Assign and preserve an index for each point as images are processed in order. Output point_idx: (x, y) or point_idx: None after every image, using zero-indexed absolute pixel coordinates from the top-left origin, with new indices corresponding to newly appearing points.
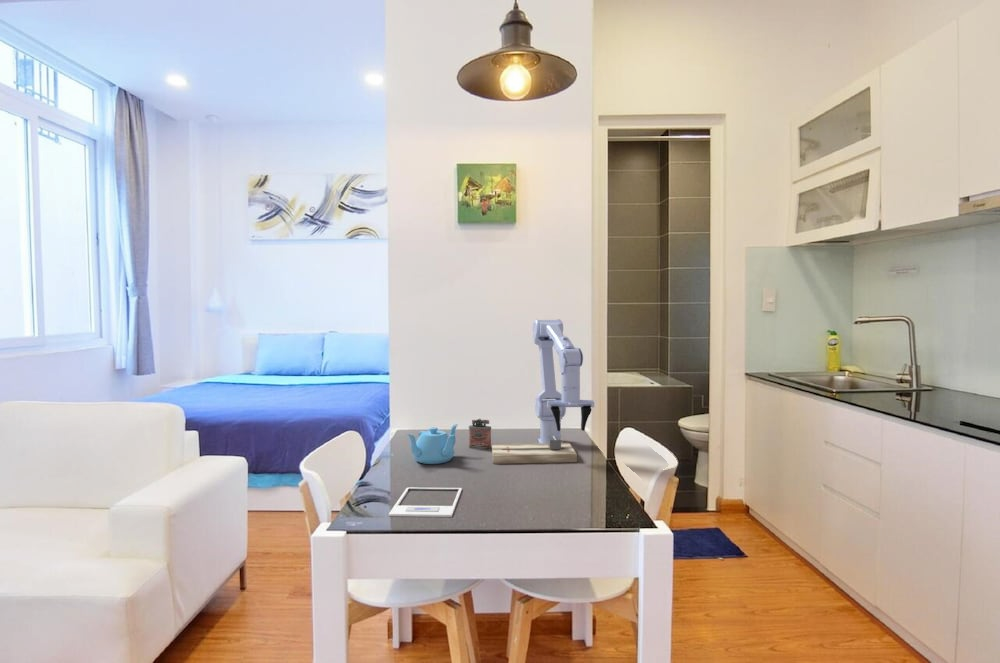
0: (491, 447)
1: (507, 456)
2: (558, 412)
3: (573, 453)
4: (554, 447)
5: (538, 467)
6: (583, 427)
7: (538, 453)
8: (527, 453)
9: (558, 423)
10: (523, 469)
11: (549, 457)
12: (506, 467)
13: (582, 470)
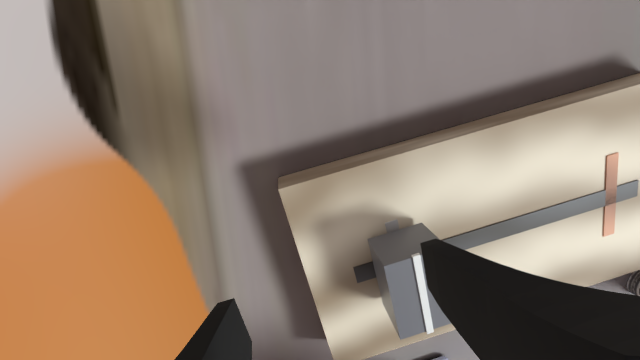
0: (631, 287)
1: (617, 89)
2: (620, 331)
3: (297, 195)
4: (403, 233)
5: (450, 53)
6: (217, 315)
7: (474, 157)
8: (527, 145)
9: (475, 263)
10: (518, 5)
11: (413, 145)
12: (591, 25)
13: (233, 40)
